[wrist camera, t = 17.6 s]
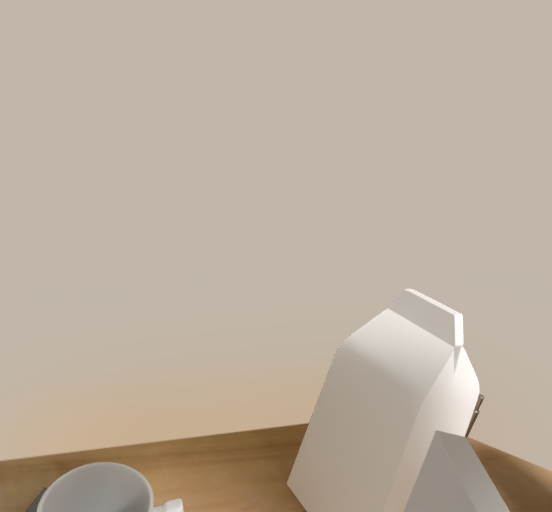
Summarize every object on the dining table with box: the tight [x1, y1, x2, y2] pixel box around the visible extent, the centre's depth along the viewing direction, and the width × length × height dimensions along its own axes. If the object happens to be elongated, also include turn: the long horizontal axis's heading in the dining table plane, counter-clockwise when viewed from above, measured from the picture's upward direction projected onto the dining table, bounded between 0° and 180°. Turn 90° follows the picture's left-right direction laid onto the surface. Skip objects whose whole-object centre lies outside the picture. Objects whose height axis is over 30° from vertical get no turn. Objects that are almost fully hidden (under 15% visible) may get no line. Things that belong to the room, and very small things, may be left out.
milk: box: [287, 289, 480, 512], centre depth 44 cm, size 12×12×26 cm
